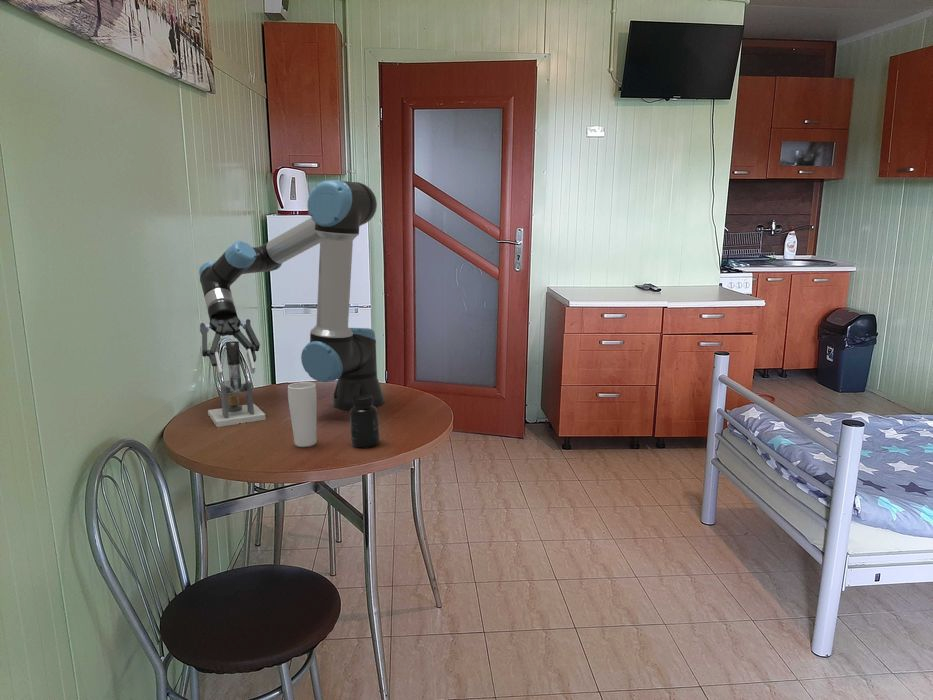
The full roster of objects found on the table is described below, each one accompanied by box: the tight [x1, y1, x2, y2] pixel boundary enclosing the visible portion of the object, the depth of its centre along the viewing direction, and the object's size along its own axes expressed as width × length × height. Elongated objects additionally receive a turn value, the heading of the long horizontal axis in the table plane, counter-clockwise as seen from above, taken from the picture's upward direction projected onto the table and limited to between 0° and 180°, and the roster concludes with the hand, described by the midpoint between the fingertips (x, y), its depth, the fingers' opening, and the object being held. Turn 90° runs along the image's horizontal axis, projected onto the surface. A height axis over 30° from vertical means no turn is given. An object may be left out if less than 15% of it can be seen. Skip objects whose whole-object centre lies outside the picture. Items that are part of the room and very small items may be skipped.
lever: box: [224, 340, 247, 395], centre depth 190 cm, size 10×5×14 cm, turn 29°
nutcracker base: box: [207, 379, 267, 428], centre depth 192 cm, size 14×13×10 cm
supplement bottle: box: [349, 395, 380, 449], centre depth 166 cm, size 7×7×12 cm
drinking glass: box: [287, 381, 318, 448], centre depth 166 cm, size 7×7×15 cm
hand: (237, 372), depth 185 cm, fingers open, 8 cm apart
